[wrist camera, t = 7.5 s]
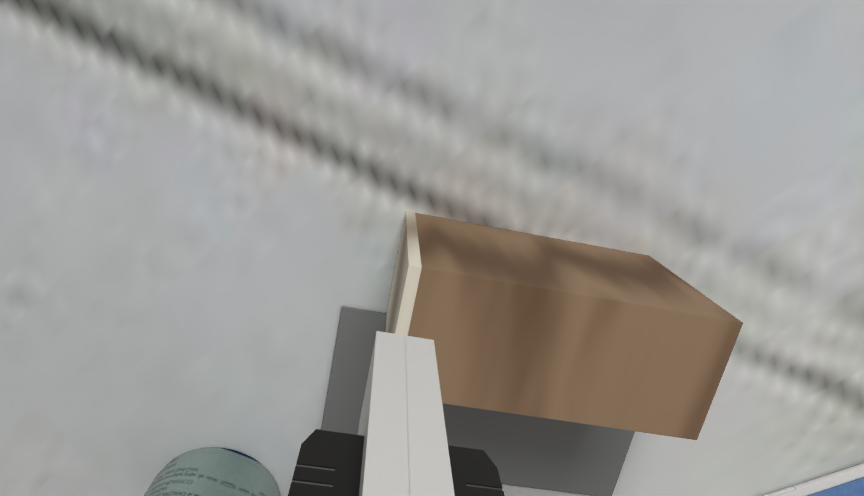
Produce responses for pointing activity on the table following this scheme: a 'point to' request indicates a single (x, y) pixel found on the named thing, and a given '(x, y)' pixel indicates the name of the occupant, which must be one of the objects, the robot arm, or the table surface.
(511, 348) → the walnut block
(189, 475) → the spray paint can
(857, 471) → the tablet computer
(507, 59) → the table surface
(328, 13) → the table surface
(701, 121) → the table surface
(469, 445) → the mat
